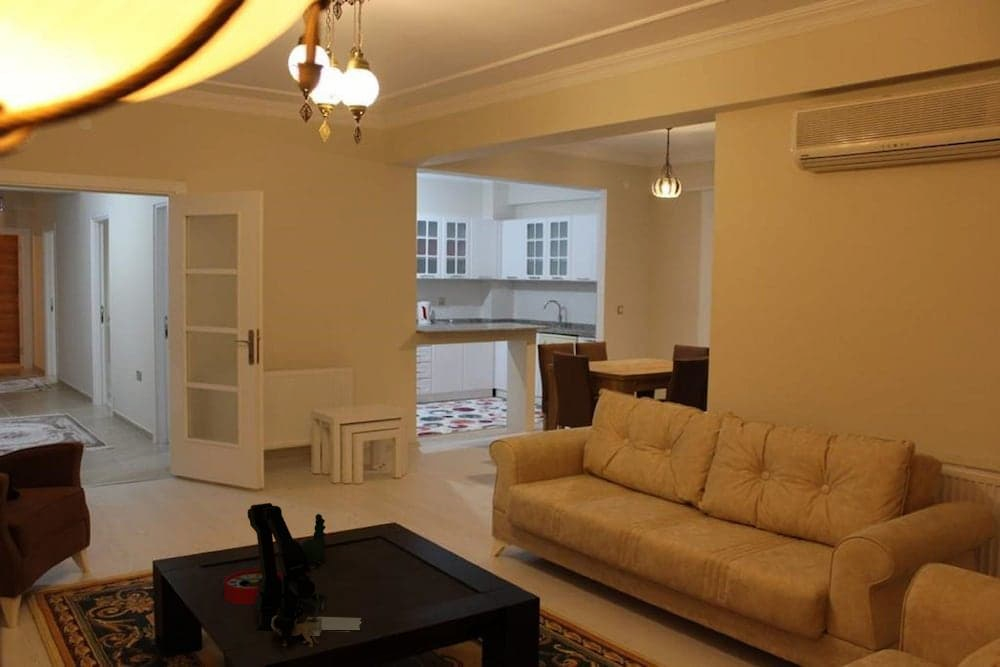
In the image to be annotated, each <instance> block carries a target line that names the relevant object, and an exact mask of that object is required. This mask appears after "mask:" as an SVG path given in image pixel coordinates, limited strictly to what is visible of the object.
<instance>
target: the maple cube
mask: <svg viewBox="0 0 1000 667" xmlns="http://www.w3.org/2000/svg"><path fill="white" fill-rule="evenodd" d="M321 617H322V616H311V617H310V616H307V618H306V619H305V621H304V623H307V624H309V625H310V627H311V628H312V630H313V634H314V636H319V637H320V635H321V633H322V632H323V631H322V618H321ZM309 636H312V634H311V631H310V632H309Z"/></svg>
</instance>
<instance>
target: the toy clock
mask: <svg viewBox="0 0 1000 667" xmlns="http://www.w3.org/2000/svg"><path fill="white" fill-rule="evenodd" d="M277 575H278V577H279V578H280V579H281V580H282V573H281V572H278V571H277ZM261 580H262V573H261V569H251V570H250V569H247V570H242V571H239V572H235V573H232V574H230V575H228V576H226V578H225V579H224V588H223V590H224V592H223V593H224V594H223V595H224V597H225V598H224V597H223V598H224V600H225V599H226V600H225V601H227V600H228V601H230V602H233V603H237V604H236V605H239V604H247V605H246V606H254V600H255V598H256V596H257V595H258V587H259V585H260V582H261ZM228 601H227V602H228ZM230 602H229V603H230ZM233 603H232V604H233ZM248 604H250V605H248ZM251 604H253V605H251Z"/></svg>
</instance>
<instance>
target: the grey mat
mask: <svg viewBox="0 0 1000 667" xmlns="http://www.w3.org/2000/svg"><path fill="white" fill-rule="evenodd" d="M320 617H321V618H322V630H360V628H359V627H360V626H359V625H360V624H361V623H362V622H361V621H360V620H361V618H362V617H339V616H334V617H333V616H320Z"/></svg>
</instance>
